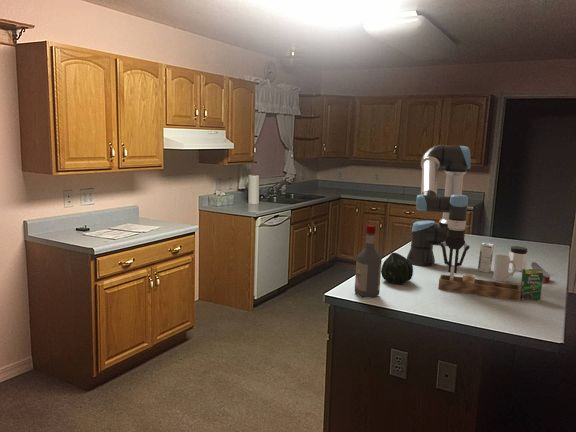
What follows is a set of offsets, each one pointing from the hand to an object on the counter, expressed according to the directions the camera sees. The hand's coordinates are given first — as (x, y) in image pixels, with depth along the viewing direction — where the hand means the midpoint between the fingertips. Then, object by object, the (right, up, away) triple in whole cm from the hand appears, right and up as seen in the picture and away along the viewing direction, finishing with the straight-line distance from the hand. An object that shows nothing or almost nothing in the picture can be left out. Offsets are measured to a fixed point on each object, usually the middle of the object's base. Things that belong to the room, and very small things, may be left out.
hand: (451, 279), depth 220 cm
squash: (-24, -2, +7) cm, 25 cm away
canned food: (+50, -3, +20) cm, 54 cm away
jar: (+49, 0, +40) cm, 63 cm away
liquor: (-41, -5, -14) cm, 44 cm away
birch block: (+7, -2, -2) cm, 7 cm away
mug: (+31, -3, +17) cm, 36 cm away
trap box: (+11, -5, -4) cm, 12 cm away
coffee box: (+30, -7, -11) cm, 33 cm away
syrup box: (+29, 0, +34) cm, 44 cm away
